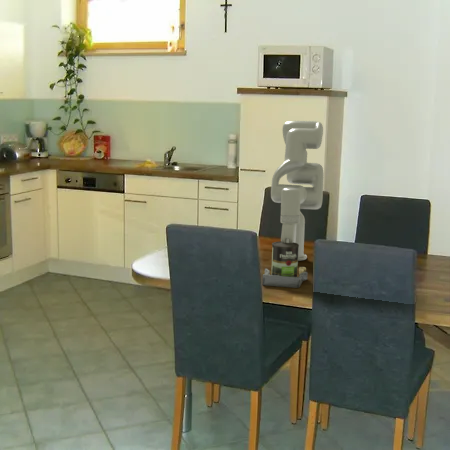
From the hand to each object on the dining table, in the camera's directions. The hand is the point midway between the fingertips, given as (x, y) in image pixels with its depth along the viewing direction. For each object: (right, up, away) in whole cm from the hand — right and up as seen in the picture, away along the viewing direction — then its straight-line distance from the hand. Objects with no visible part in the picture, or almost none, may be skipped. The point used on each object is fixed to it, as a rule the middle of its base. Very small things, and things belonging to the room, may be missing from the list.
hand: (288, 263), depth 276 cm
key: (+6, -4, +4) cm, 8 cm away
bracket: (-3, -6, -11) cm, 13 cm away
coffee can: (-2, -6, -7) cm, 9 cm away
